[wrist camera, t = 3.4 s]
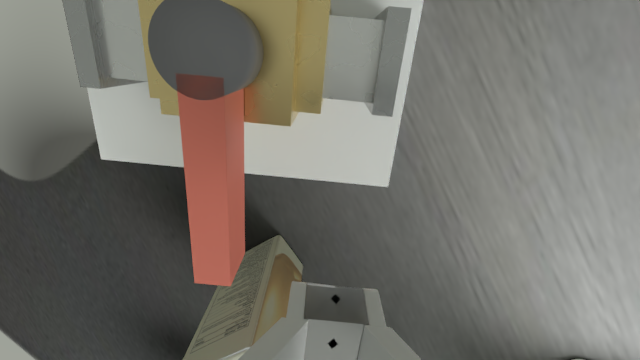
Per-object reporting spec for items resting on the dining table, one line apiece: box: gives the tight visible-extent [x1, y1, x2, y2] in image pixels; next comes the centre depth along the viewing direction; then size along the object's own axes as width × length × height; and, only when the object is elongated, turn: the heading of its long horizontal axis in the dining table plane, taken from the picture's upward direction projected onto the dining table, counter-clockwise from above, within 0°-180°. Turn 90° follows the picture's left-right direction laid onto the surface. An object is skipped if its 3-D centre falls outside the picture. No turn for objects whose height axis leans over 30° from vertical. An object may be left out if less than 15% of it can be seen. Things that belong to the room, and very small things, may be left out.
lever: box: [148, 0, 264, 286], centre depth 16 cm, size 4×14×3 cm, turn 175°
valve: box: [62, 0, 412, 127], centre depth 19 cm, size 18×7×8 cm, turn 85°
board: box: [87, 0, 424, 187], centre depth 23 cm, size 24×15×1 cm, turn 85°
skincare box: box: [183, 235, 303, 360], centre depth 24 cm, size 6×4×12 cm
